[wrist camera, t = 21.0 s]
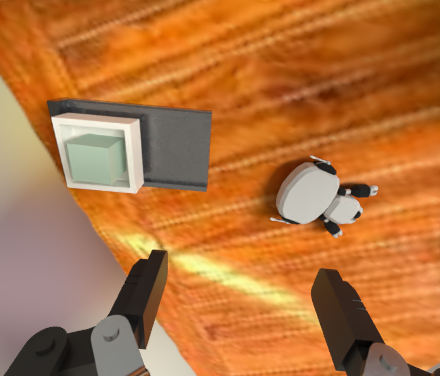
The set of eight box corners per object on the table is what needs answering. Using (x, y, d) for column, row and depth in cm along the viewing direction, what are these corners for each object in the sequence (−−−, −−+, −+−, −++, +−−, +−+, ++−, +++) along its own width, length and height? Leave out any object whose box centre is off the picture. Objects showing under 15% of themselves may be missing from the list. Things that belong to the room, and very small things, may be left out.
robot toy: (372, 178, 40) (299, 145, 37) (390, 190, 36) (309, 155, 33) (330, 230, 46) (262, 206, 42) (341, 246, 42) (267, 221, 38)
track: (65, 97, 35) (46, 100, 32) (212, 110, 35) (210, 115, 32) (81, 176, 41) (67, 187, 37) (207, 188, 41) (205, 199, 38)
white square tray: (76, 110, 35) (51, 117, 30) (143, 116, 35) (129, 124, 30) (87, 172, 39) (67, 187, 34) (147, 177, 39) (136, 193, 34)
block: (88, 133, 33) (66, 143, 29) (124, 137, 33) (107, 148, 29) (92, 166, 35) (73, 180, 31) (126, 170, 36) (111, 184, 31)
